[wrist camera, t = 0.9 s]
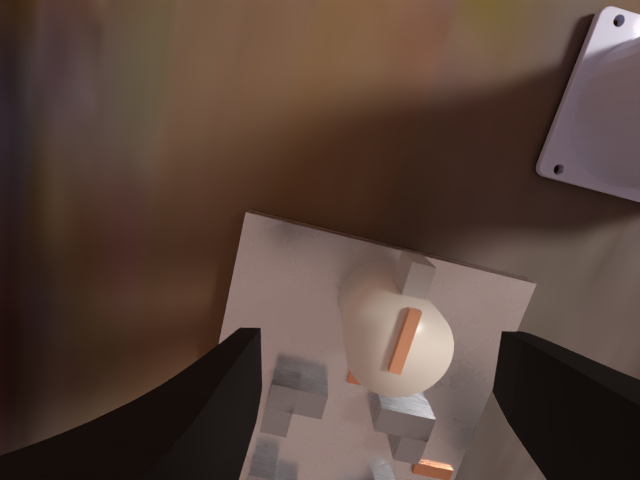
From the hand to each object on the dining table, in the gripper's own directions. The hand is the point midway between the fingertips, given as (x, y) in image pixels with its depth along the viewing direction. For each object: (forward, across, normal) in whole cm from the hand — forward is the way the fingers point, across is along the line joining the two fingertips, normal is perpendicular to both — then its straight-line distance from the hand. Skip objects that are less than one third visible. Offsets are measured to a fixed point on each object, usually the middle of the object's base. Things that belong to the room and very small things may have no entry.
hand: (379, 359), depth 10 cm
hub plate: (+9, 0, +8) cm, 12 cm away
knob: (+8, -2, +2) cm, 9 cm away
